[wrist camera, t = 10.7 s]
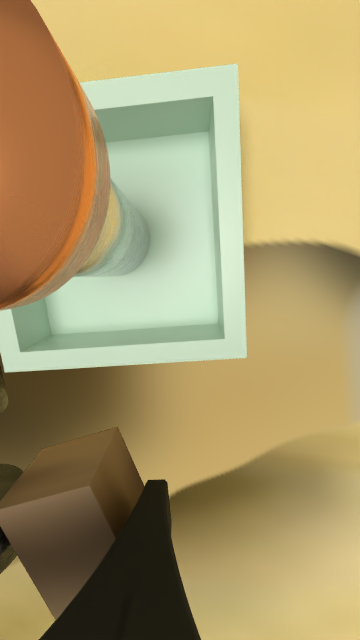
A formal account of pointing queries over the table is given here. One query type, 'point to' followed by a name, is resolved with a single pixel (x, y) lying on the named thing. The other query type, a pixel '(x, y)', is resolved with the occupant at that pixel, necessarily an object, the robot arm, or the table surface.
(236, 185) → the tray
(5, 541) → the cart
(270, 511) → the table surface
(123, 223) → the pin
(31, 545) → the brown rectangular block
